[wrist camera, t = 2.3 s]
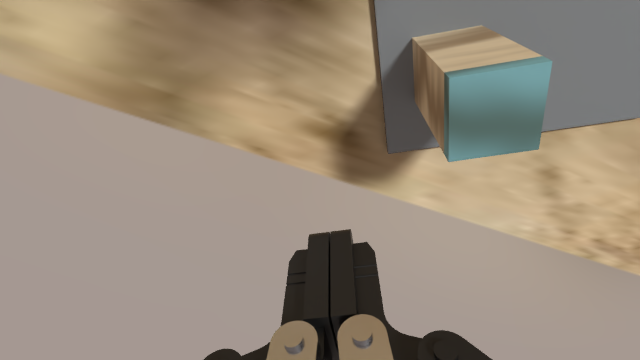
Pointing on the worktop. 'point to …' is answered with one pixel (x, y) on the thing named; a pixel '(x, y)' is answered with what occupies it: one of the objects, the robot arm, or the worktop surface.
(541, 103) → the maple block
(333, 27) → the worktop surface
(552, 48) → the slate mat
